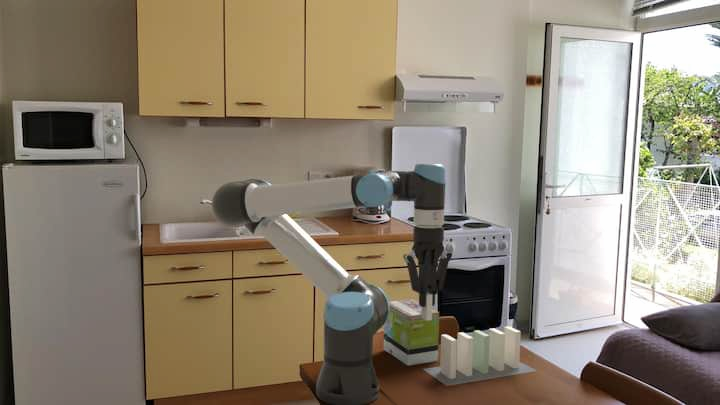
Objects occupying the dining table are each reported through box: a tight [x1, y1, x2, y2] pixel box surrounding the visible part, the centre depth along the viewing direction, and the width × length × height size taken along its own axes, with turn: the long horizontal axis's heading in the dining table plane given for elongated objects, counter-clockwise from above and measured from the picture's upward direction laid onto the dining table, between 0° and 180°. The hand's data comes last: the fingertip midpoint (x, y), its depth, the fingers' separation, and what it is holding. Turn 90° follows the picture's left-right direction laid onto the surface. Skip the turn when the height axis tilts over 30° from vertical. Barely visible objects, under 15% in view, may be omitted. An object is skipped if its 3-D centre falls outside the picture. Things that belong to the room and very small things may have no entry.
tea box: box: [383, 298, 440, 366], centre depth 169 cm, size 15×10×15 cm
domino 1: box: [439, 334, 457, 379], centre depth 154 cm, size 2×5×10 cm, turn 23°
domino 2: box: [456, 331, 473, 376], centre depth 156 cm, size 2×5×10 cm, turn 23°
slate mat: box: [422, 360, 538, 387], centre depth 159 cm, size 28×12×1 cm, turn 113°
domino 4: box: [503, 326, 522, 369], centre depth 162 cm, size 2×5×10 cm, turn 23°
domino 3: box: [488, 327, 505, 371], centre depth 160 cm, size 2×5×10 cm, turn 23°
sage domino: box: [472, 329, 490, 374], centre depth 158 cm, size 2×5×10 cm, turn 24°
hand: (426, 318), depth 150 cm, fingers closed
